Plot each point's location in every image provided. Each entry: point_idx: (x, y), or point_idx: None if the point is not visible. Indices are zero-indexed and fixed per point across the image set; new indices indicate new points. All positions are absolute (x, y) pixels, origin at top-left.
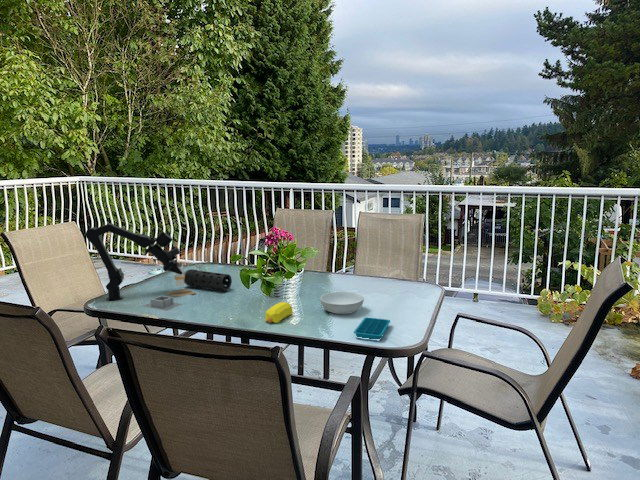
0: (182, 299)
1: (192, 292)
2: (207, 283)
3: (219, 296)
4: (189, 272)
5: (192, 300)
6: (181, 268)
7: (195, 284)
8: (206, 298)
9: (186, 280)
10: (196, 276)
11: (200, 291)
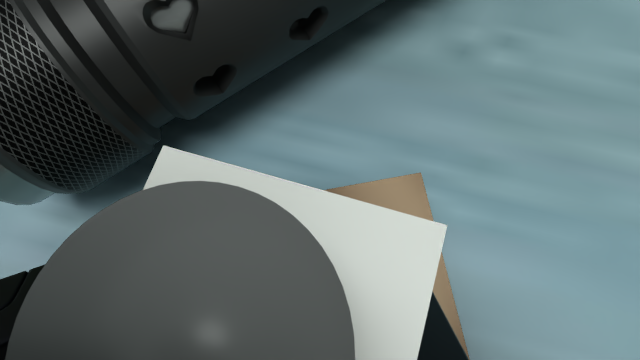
0: (532, 352)
1: (378, 197)
2: (364, 2)
3: (563, 13)
4: (15, 79)
5: (615, 261)
6: (428, 287)
7: (206, 110)
8: (588, 122)
9: (91, 174)
10: (188, 40)
11: (313, 113)
